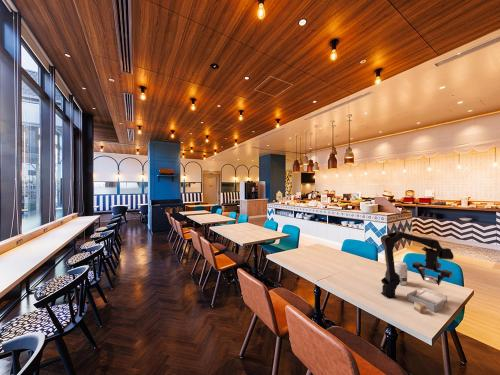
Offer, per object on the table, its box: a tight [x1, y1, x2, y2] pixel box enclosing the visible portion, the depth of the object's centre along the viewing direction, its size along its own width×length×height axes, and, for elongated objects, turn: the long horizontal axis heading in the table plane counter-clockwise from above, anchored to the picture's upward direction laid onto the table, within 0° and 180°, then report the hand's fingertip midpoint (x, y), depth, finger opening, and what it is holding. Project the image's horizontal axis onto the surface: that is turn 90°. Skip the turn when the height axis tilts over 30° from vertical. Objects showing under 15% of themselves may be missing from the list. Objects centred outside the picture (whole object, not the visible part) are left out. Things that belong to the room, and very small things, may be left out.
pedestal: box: [413, 302, 428, 314], centre depth 119 cm, size 4×4×4 cm
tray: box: [415, 287, 448, 304], centre depth 131 cm, size 12×12×4 cm
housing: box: [406, 289, 445, 313], centre depth 127 cm, size 12×14×4 cm
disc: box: [423, 275, 438, 285], centre depth 130 cm, size 7×7×2 cm
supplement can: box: [394, 260, 408, 286], centre depth 153 cm, size 8×8×15 cm
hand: (431, 282), depth 130 cm, fingers closed on disc, 7 cm apart
